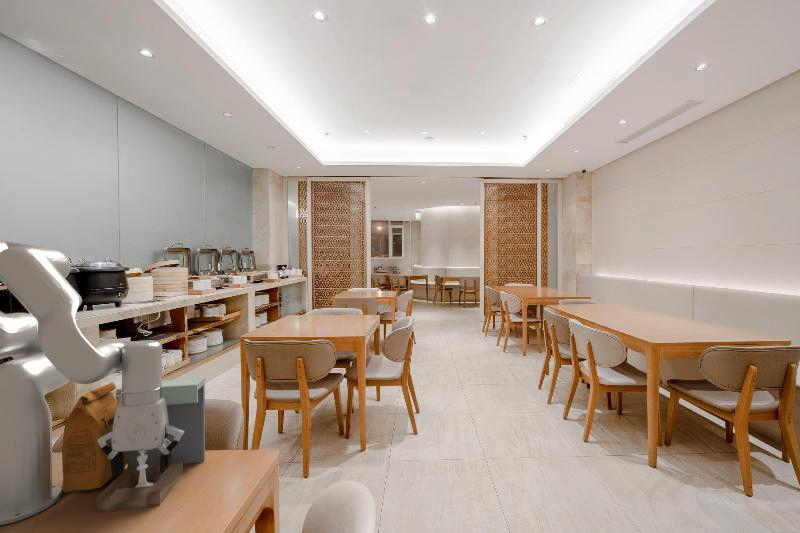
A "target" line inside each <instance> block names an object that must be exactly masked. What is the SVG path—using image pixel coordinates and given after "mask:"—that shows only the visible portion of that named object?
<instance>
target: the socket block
mask: <svg viewBox="0 0 800 533" xmlns="http://www.w3.org/2000/svg"><path fill="white" fill-rule="evenodd" d="M183 464H184V463H183V462H178V463H171V465H170V466H169V467H168V468H167V470H166V471H165V472H164V473H161V472H160V464H157V465H148V467H147V468H146V469H145V474H146V480H147V482H149V483H154V485H153V486H144V487H136V486H135V485H138V481H139V473H140V470H137V467H138V466H135V467H128V468H127V467H126V469H125V470H123V471H122V472H121V473H120V475H119V476H117V478H116V479H115V480H113V481H112V483H110V484H109V486H107V487H106V488H105V489H104V490H103V491H102V492H101V493H100V494H99V495H98V496H97V497H96V498H95V499H96V500H95V501H96V513H102V512H109V511H119V510H129V509H137V508H144V507H145V508H147V507H154V506H155V507H156V506H161V504H162V503H163V502H164V501H165V499H166V497H167V496H168V495H169V494H170V492H171V491H172V490H173V488H174V487H175V485H176V484H177V482H179V480H180V479H181V477H182V476H183V475H184V465H183Z"/></svg>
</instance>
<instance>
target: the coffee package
mask: <svg viewBox="0 0 800 533" xmlns="http://www.w3.org/2000/svg"><path fill="white" fill-rule="evenodd" d="M115 389H117V386H116V385H115V383H114V382H113V381H112V382H109V383H107V384H104V385H103V386H100V387H98V388H95V389H93V390H90V391H88V392H87V393H85V394H83V395H81V396H80V397H79V398H78V400H77V402H76V404H75V405H74V406H73V408H72V410H71V412H70V413H69V414H68V417H67V418H66V421H65V423H64V428H63V433H62V448H61V449H62V451H61V460H62V461H61V464H62V465H61V466H62V469H61V470H62V493H63V494H68V493H71V492H72V493H73V492H77V491H83V490H84V491H91V490H95V489H99V488H102V487H103V486H104V485H106V483H107V482H108V481H109V480H110V481H111V479H112V478H113V477H112V471H111V459H109V458H108V455H107V454H105V453H104V452H103V451H102V447H101V446H100V445H99V443H98V441H97V440H98V439H99V438H100V437H101V436H103V435H105V434H107V433H109V432H111V431H112V428H113V422H114V416H115V412H116V408H117V399H116V398H115V396H114V393H112V391H114V390H115ZM109 443H111V438H110V439H109ZM123 454H124V468H125V467H126V466H127V452H123Z"/></svg>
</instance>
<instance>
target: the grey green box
mask: <svg viewBox="0 0 800 533" xmlns="http://www.w3.org/2000/svg"><path fill="white" fill-rule="evenodd" d="M205 380H206V379H205V378H204V377H203V378H188V379H186V378H185V379H170V380H162V398H164V399H165V402H166V406H167V411H168V419H169V425H171V426H173V427H176V428H178V429H181V430H183V431H184V434H183V436H182V438H181V440H180V442H179V443H178V444H177V445H176V446H175V447H174V448H173V449H172V450H171V463H178V462H183V464H191V463H192V464H193V463H202V462H205V461H206V402H205V401H206V400H205V399H206V398H205V397H206V388H205V387H206V385H205V384H206V381H205ZM121 391H122V386H121V387H119V388H116V393H117V392H121ZM116 403H117V406H118V405H119V404H121V403H122V402H121V399H119V398H116ZM174 438H175V437H174V436H173V435H171V434H169V437H168V440H169V441H170V442H171V443H172V442H173V440H174ZM144 454H147V455H148V457H147V459H146V462H145V464H147V465H157V464H160V456H161V455H162V454H163V453H162V452H161V451H160V450H159V449H158V448H156V449H152V450H146V453H144ZM140 455H141V453H138V451H127V465H126V466H127V467H126V469H127V468H128V467H135V466H139V462H138V460H137V457H138V456H140Z"/></svg>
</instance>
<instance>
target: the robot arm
mask: <svg viewBox="0 0 800 533" xmlns="http://www.w3.org/2000/svg"><path fill="white" fill-rule="evenodd" d="M70 272H71V264H70V261H69V258H68V257H67V256H66V255H65V254H64V253H62V251H61V252H60V251H59V250H57V249H54V248H50V247H44V246H37V245H31V244H30V245H29V244H26V243H25V244H24V243H21V242H20V243H19V242H13V241H7V240H4V239H3V240H2V239H0V282H1V283H2V284H3V285H4V286H5V287H6V288H7V289H8V291H9V292H10V294H12V296H14V298H16V299H17V300H18V302H20V304H21V305H22V306H23V307H24V309H26V310H27V311H28V313H27V312H13V313H4V312H2V311H1V310H0V360H2V359H5V358H9V357H11V358H12V360H8V361H5V362H3V363H2V364H0V526H4V525H8V524H13V523H16V522H18V521H22V520H25V519H27V518H30V517H33V516H34V515H37V514H39V513H41V512H43V511H45V510H46V509H48V508H49V507H51V506H53V505H54V504H55V503H56V502H57V501H59V499H60V498H61V497H62V494H63V487H61V486H59V485H57V484H53V420H52V419H53V418H52V412H51V409H50V406H49V404H48V403H47V400H46V398H45V397H46V396H45V395H47V394H49V393H52V392H53V391H55V390H57V389H60V388H62V387H63V386H66V384H68V383H69V382H73V383H75V384H78V385H79V384H80V385H89V384H93V383H96V382H98V381H101V380H103V379H104V378H107V377H109V376H111V375H114V374H116V373H119V372H121V387H122V391H121V392H117V391H116V393H115V396H114V398H115V399H117V398H119V399H121V402H122V403H121V404H119V405H118V406H117V408H116V412H115V416H114V422H113V428H112V431H111V432H109V433H107V434H105V435H103V436H101V437H100V438H99V439H98V440H97V441H98V443H99V445H100V446H101V447H102V451H103V452H104V453H105V454H107V455H108V458H109V459H111V471H112V478H116V477H118V475H119V474H121V473H122V472H123V471H124V468H125V467H124V454H123V452H127V451H141V450H152V449H156V448H158V449H159V450H160V451H161V452H162V453H163V454H162V455H161V456H160V472H161V473H164V472H165V471H166V470H167V468H168V467H169V466H170V465H171V450H172V449H173V448H174V447H175V446H176V445H177V444H178V443H179V442H180V440H181V438H182V436H183V434H184V431H183V430H181V429H178V428H176V427H173V426H171V425H169V419H168V411H167V406H166V402H165V399H164V398H162V381H163V344H162V343H161V342H160V341H157V340H154V339H151V340H150V339H149V340H148V339H146V340H137V341H130V340H129V341H128V340H122V339H110V340H105V341H101V342H99V343H94V344H91V342H90V341H89V340H87V338H86V337H85V336H84V334H83V332H81V330H80V329H79V327H78V324H77V321H76V314H77V311H78V309H79V308H80V306H81V305H82V303H83V299H82V296H81V295H80V294H79V293H78V292H77V290H76V289H75V288H74V287H73V286H72V285H71V284H70V282H69V281H68V280H67V279H66V278H67V277H68V276H69V274H70ZM169 434H171V435H173V436H174V437H175V438H174V440H173V442H172V443H171V442H170V441H169V440H168V437H169ZM110 438H111V443H109V439H110Z"/></svg>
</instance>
